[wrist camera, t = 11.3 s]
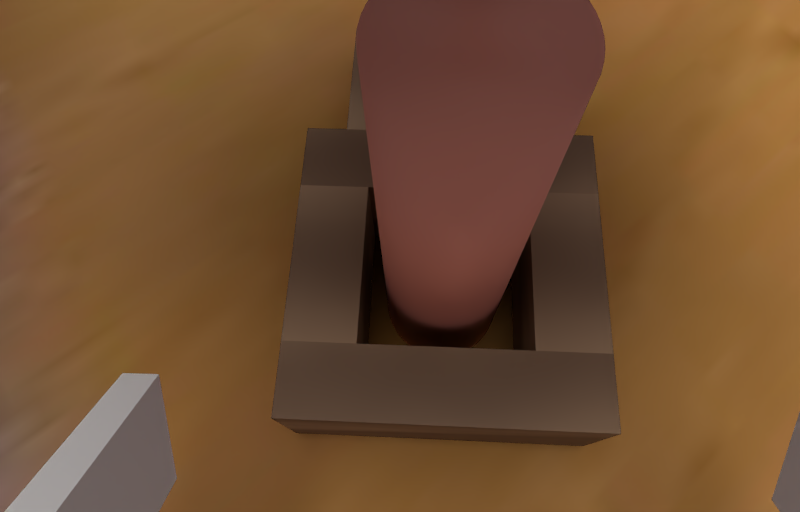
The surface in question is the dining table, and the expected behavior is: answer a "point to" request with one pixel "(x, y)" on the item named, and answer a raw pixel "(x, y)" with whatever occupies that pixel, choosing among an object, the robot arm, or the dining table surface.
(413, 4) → the peg
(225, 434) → the dining table surface
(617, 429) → the awning socket
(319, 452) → the dining table surface
